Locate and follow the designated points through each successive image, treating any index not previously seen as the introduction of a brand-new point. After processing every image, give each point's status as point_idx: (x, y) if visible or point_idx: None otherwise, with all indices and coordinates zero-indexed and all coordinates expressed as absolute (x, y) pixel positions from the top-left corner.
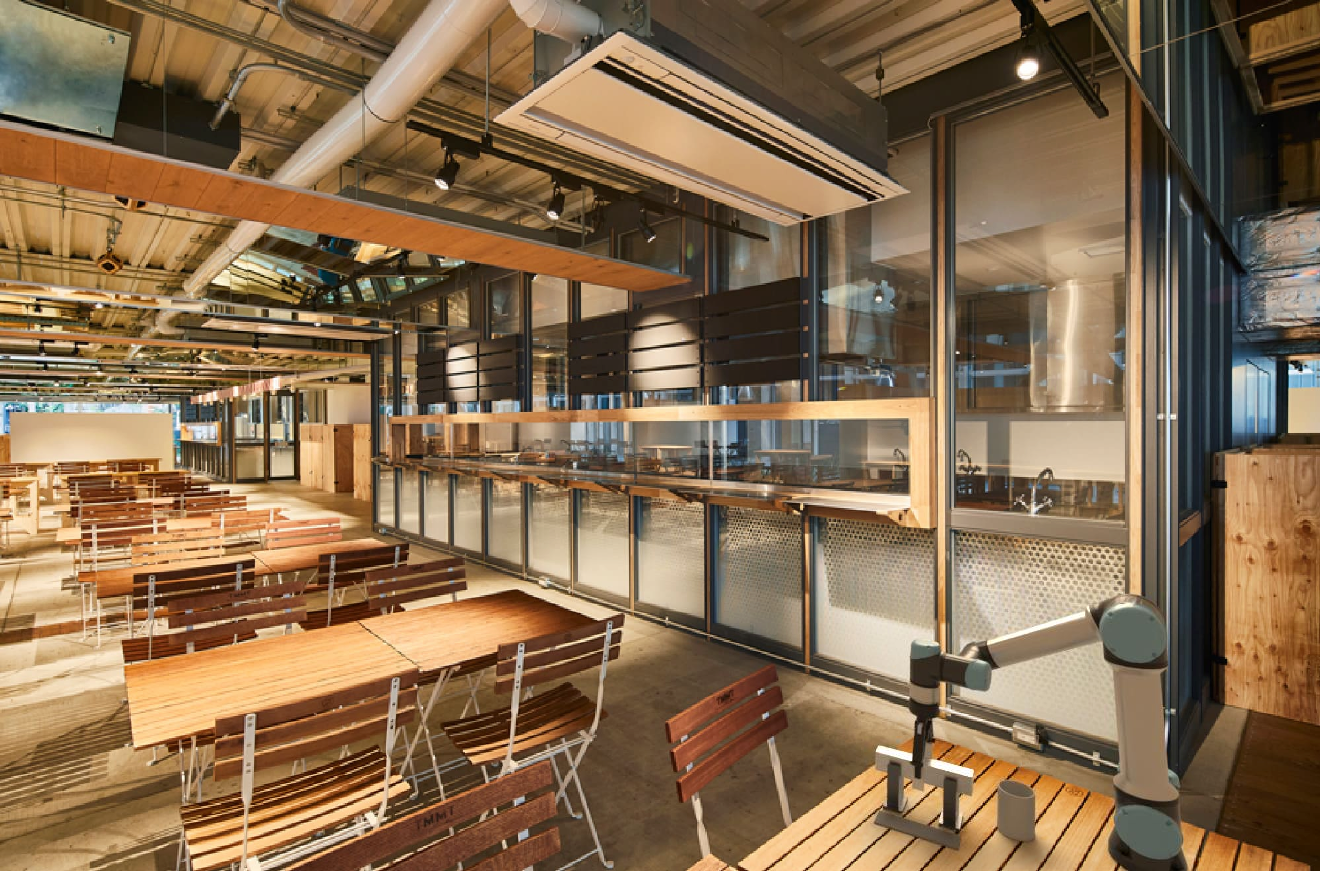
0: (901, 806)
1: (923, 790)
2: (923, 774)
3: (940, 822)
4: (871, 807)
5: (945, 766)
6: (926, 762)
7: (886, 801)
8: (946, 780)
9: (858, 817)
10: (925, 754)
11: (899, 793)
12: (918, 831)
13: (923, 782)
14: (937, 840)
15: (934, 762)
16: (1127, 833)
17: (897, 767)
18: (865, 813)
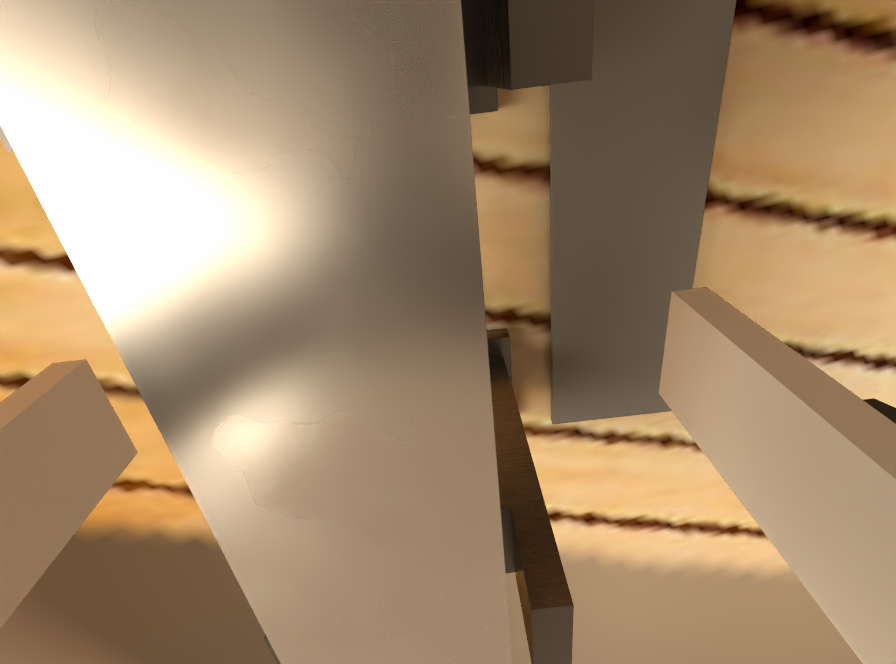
0: None
1: (688, 290)
2: (884, 416)
3: (487, 98)
4: (535, 452)
5: (252, 128)
6: (400, 493)
7: None
8: (561, 18)
9: (653, 465)
10: (7, 533)
11: None
12: (656, 201)
13: (772, 338)
14: (707, 60)
15: (271, 392)
16: None
17: (567, 615)
18: (603, 455)
